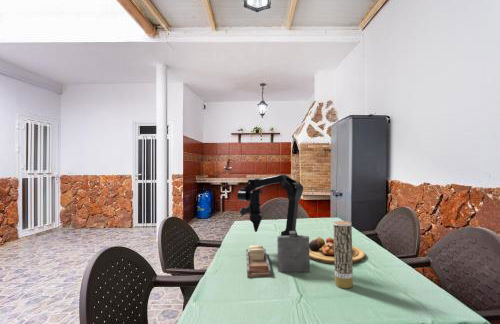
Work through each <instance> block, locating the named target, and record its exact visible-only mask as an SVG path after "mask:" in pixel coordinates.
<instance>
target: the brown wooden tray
mask: <svg viewBox="0 0 500 324" xmlns="http://www.w3.org/2000/svg"><path fill="white" fill-rule="evenodd" d="M263 249H264V260H250V251H249V249H248V248H246V250H245V255H246V259H245V260H246V274H247V275H246V276H247V277H246V278H266V277H267V278H268V277H269V278H270V277H272V269H271V265H270V261H269V258H268V254H267V250H266V248H263Z"/></svg>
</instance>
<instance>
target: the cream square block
mask: <svg viewBox="0 0 500 324" xmlns="http://www.w3.org/2000/svg"><path fill="white" fill-rule="evenodd" d="M248 248H249V249H248V251H249V252H250V260H264V249H265V248H264V246H263V244H262V245H249V247H248Z"/></svg>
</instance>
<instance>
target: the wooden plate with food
mask: <svg viewBox="0 0 500 324" xmlns="http://www.w3.org/2000/svg"><path fill="white" fill-rule="evenodd" d="M309 256H310V260H312V261H316V262H319V263H325V264H331V265H335V262H334V238H332V237H331V236H330V237H327V238H326V240H324V239H323V238H322V237H320V236H318V237H316V238H314V239H312V240H311V241H309ZM365 259H366V253H365V251H364V250H362V249H361V248H359V247H356V246H353V245H352V265H353V264H356V263H360V262H362V261H364V260H365Z"/></svg>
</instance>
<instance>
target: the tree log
mask: <svg viewBox="0 0 500 324" xmlns="http://www.w3.org/2000/svg"><path fill="white" fill-rule="evenodd" d="M352 229H353V227H352V222H351V221H346V220H345V221H343V220H337V221H334V222H333V239H334V262H335V264H334V284H335V286H336V287H338V288H341V289H350V288H353V285H354V281H353V280H354V279H353V276H354V274H353V272H354V271H353V269H354V268H353V267H354V266H353V264H352V246H353V237H352V236H353V234H352V233H353V230H352Z"/></svg>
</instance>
